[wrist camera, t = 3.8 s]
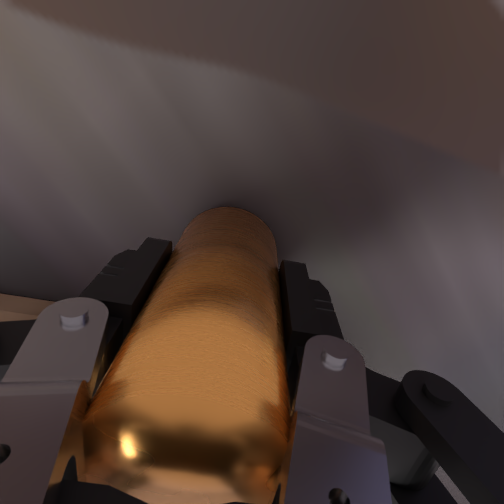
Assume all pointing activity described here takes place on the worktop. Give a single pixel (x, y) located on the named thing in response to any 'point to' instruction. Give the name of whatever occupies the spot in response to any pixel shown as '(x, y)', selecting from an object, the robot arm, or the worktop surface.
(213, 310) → the peg
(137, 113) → the worktop surface
